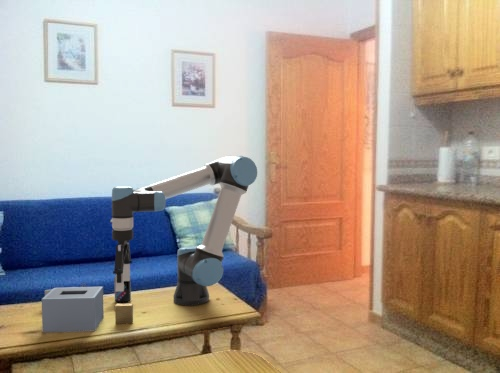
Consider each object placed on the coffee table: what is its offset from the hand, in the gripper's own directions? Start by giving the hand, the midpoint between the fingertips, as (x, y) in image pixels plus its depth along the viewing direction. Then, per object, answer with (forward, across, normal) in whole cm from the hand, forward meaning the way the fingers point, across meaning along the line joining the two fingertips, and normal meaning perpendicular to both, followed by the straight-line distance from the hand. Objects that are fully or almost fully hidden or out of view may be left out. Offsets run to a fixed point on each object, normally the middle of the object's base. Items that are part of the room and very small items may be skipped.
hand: (123, 285), depth 174 cm
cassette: (+14, -21, -29) cm, 38 cm away
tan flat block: (+14, 0, 0) cm, 14 cm away
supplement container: (+14, -26, -5) cm, 30 cm away
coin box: (+14, 0, -18) cm, 23 cm away
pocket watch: (+14, -19, -18) cm, 30 cm away
